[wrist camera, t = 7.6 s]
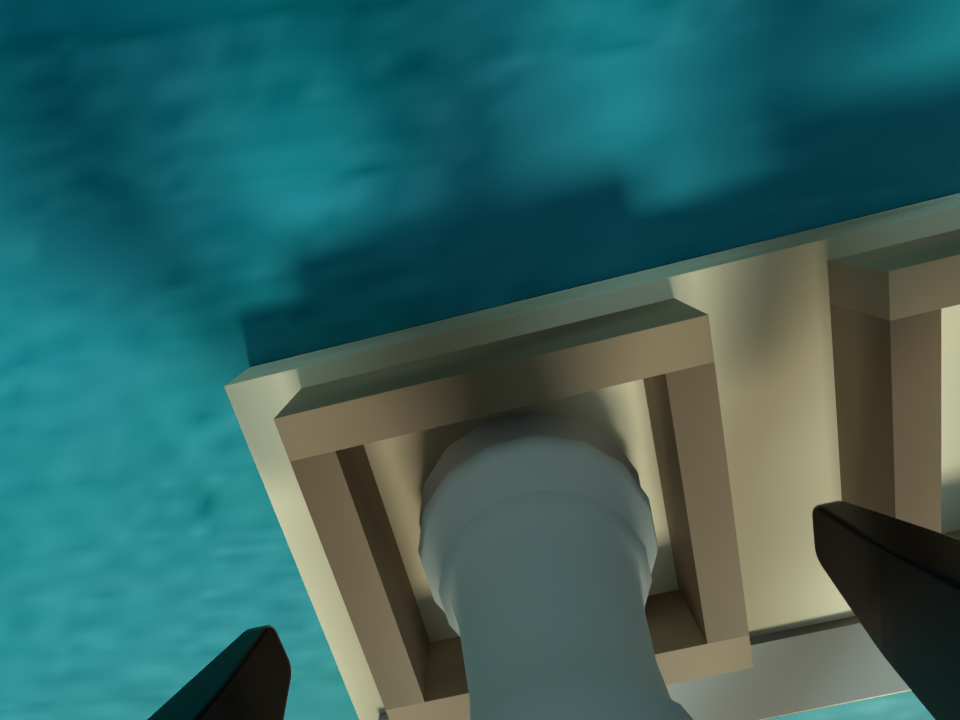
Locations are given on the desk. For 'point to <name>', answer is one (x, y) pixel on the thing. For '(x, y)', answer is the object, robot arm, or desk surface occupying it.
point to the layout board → (645, 454)
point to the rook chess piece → (545, 571)
